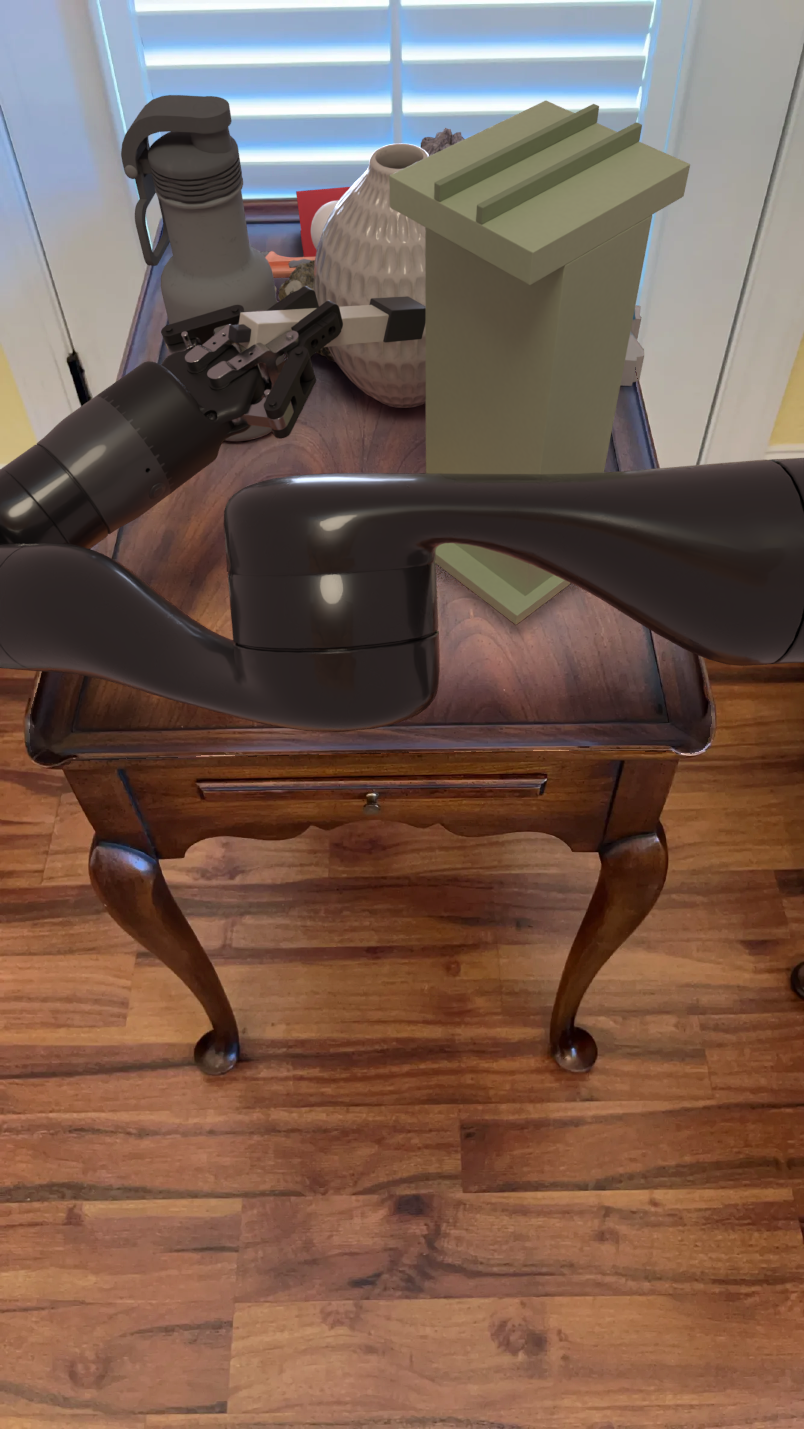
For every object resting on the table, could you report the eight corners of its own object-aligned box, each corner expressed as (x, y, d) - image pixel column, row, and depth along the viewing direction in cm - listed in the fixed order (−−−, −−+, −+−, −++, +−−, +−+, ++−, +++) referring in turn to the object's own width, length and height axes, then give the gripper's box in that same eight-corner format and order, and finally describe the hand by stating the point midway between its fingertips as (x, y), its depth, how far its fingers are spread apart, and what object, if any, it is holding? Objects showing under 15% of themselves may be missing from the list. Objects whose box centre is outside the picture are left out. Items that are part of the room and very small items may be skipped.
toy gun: (643, 361, 96) (649, 302, 101) (495, 347, 98) (509, 289, 103) (638, 388, 98) (644, 328, 104) (494, 373, 100) (507, 315, 106)
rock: (323, 394, 101) (258, 320, 94) (328, 345, 106) (266, 271, 100) (367, 367, 98) (303, 288, 92) (369, 317, 104) (309, 240, 97)
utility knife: (251, 249, 107) (392, 242, 99) (255, 257, 108) (395, 251, 99) (231, 271, 105) (373, 266, 97) (234, 279, 106) (376, 275, 97)
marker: (241, 356, 65) (246, 319, 63) (219, 341, 66) (224, 305, 64) (421, 339, 76) (429, 308, 74) (400, 327, 77) (408, 295, 75)
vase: (318, 345, 103) (294, 117, 85) (471, 331, 104) (480, 103, 86) (330, 447, 94) (307, 216, 76) (498, 430, 95) (515, 198, 77)
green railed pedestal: (507, 631, 81) (547, 241, 54) (392, 542, 87) (377, 152, 60) (619, 546, 86) (707, 152, 59) (504, 468, 92) (536, 78, 65)
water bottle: (175, 440, 95) (95, 132, 72) (203, 377, 101) (137, 73, 78) (278, 449, 94) (230, 140, 71) (300, 385, 99) (263, 79, 77)
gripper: (168, 456, 58) (382, 297, 62) (48, 359, 64) (250, 221, 69) (209, 539, 65) (400, 390, 69) (96, 443, 71) (278, 312, 75)
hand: (324, 306), depth 69 cm, fingers closed on marker, 2 cm apart
